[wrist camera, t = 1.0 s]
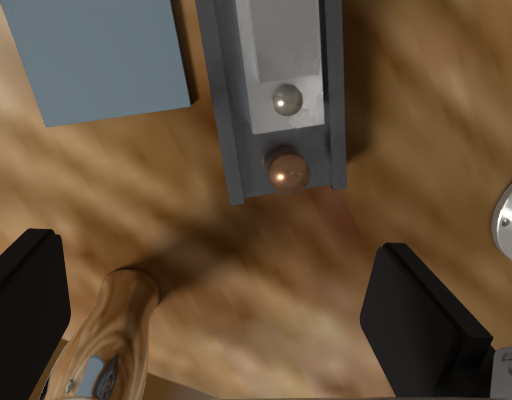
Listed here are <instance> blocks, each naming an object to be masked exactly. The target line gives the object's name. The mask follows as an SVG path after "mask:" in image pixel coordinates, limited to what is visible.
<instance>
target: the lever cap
mask: <svg viewBox="0 0 512 400" xmlns="http://www.w3.org/2000/svg"><path fill="white" fill-rule="evenodd" d="M232 5H233V12H234V19H235V27H236V34H237V42H238V49H239V56H240V64H241V71H242V79H243V86H244V93H245V101H246V108H247V116H248V122H249V125H250V128H251V130H252V133H253V135H254V134H260V133H267V132H274V131H281V130H288V129H294V128H301V127H308V126H315V125H321V124H325V123H324V103H323V82H322V62H321V42H320V22H319V1H318V0H232Z"/></svg>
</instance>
